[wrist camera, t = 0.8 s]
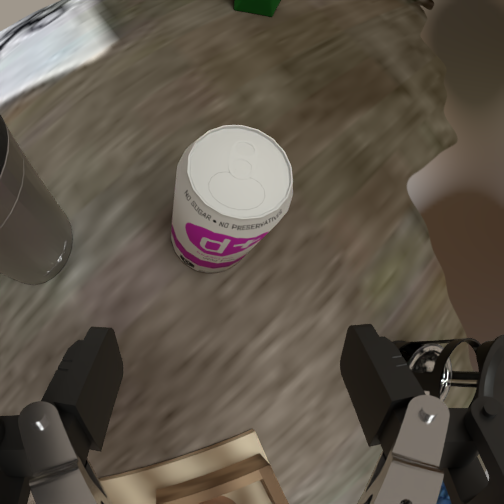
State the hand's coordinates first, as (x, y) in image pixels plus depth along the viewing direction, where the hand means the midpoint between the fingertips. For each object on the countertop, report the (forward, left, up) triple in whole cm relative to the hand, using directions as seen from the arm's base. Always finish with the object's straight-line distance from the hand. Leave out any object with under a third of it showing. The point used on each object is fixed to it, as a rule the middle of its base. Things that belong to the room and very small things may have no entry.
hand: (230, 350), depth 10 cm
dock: (+9, -20, -22) cm, 31 cm away
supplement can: (-3, +10, -22) cm, 25 cm away
